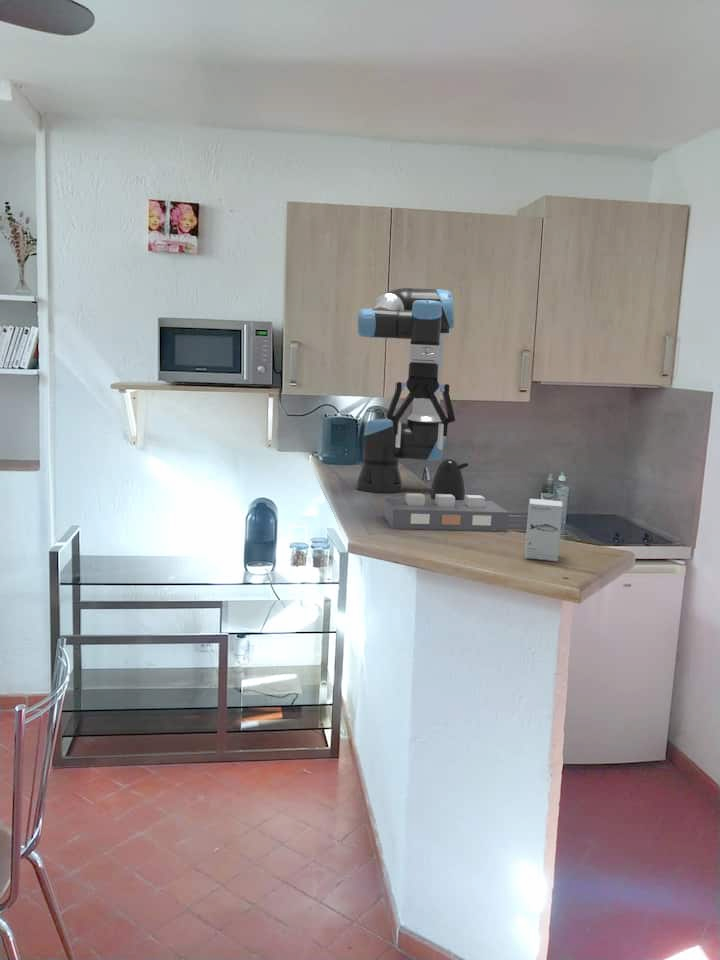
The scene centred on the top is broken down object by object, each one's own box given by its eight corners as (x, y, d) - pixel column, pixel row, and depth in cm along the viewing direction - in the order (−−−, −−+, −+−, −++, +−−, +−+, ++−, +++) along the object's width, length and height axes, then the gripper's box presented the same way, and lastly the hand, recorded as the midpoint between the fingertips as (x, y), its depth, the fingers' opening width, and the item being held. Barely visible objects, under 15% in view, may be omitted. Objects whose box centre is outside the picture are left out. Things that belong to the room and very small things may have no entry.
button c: (463, 510, 212) (464, 494, 212) (479, 511, 213) (480, 495, 212) (467, 513, 208) (468, 497, 207) (484, 514, 208) (485, 498, 208)
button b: (434, 509, 211) (435, 494, 211) (450, 510, 212) (451, 494, 211) (437, 513, 207) (438, 496, 206) (454, 513, 207) (455, 497, 207)
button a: (404, 509, 210) (405, 493, 210) (421, 509, 211) (422, 493, 210) (407, 512, 206) (408, 496, 205) (424, 512, 207) (425, 496, 206)
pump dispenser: (463, 515, 222) (467, 462, 220) (427, 512, 224) (430, 459, 222) (466, 509, 232) (470, 458, 230) (431, 506, 234) (434, 455, 232)
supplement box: (523, 559, 175) (528, 503, 174) (524, 551, 183) (529, 497, 181) (558, 562, 174) (563, 505, 172) (557, 554, 181) (562, 500, 179)
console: (383, 516, 216) (384, 498, 215) (490, 518, 219) (491, 501, 219) (392, 529, 200) (393, 509, 199) (507, 531, 203) (509, 512, 203)
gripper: (381, 360, 198) (377, 448, 201) (471, 364, 200) (465, 451, 204) (377, 359, 205) (373, 444, 208) (464, 364, 208) (458, 447, 211)
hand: (418, 448), depth 206 cm, fingers open, 10 cm apart
